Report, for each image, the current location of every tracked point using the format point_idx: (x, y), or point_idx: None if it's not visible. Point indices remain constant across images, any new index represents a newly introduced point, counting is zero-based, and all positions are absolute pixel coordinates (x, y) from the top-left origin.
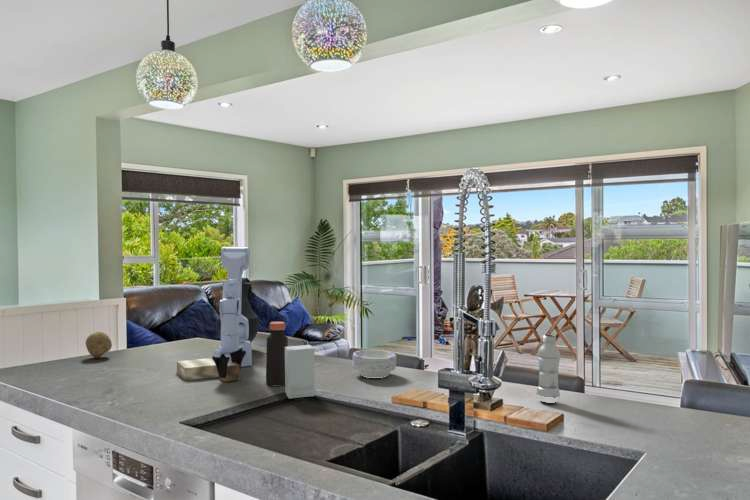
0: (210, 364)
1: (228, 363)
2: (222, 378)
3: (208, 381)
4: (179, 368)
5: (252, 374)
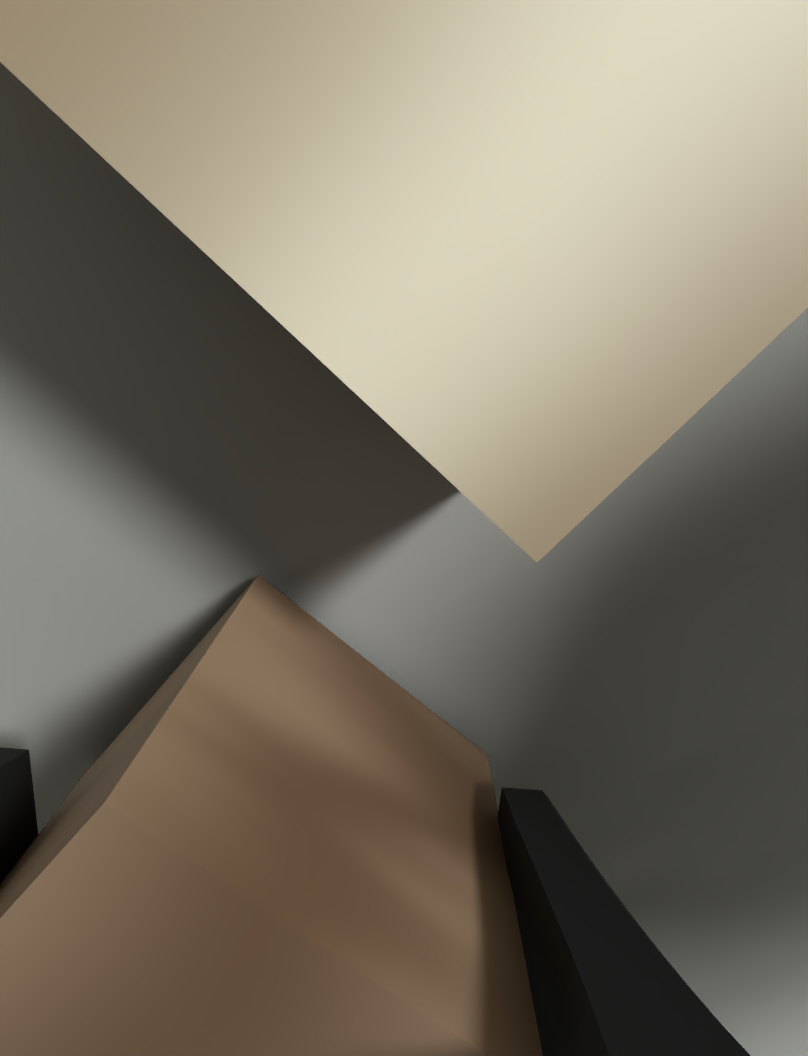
0: (414, 125)
1: (264, 1040)
2: (131, 722)
3: (5, 459)
4: None
5: (784, 911)
